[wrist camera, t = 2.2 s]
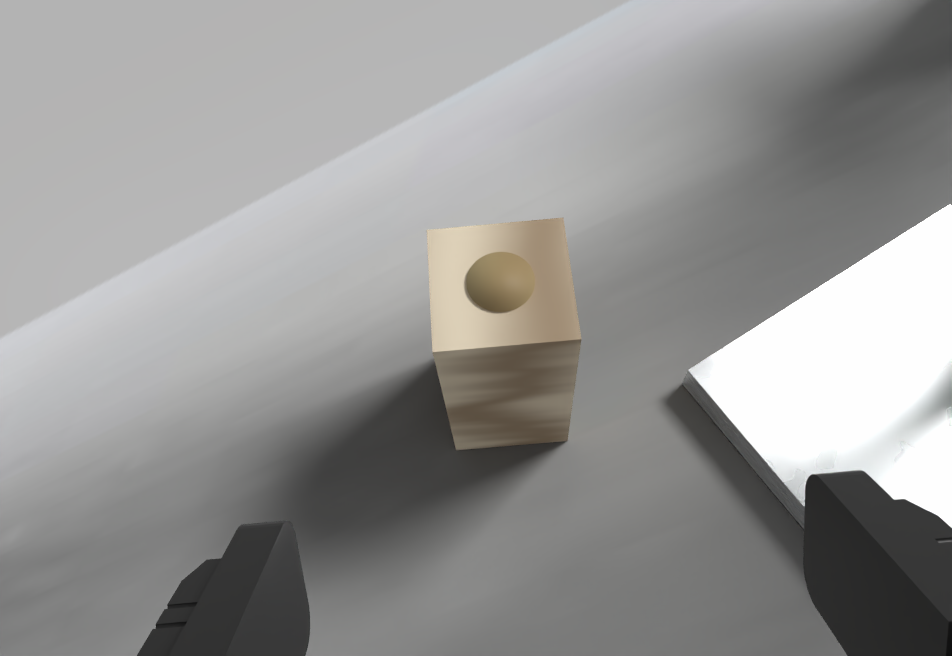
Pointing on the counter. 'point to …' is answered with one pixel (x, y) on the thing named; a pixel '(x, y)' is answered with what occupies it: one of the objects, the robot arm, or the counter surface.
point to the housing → (504, 331)
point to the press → (849, 378)
